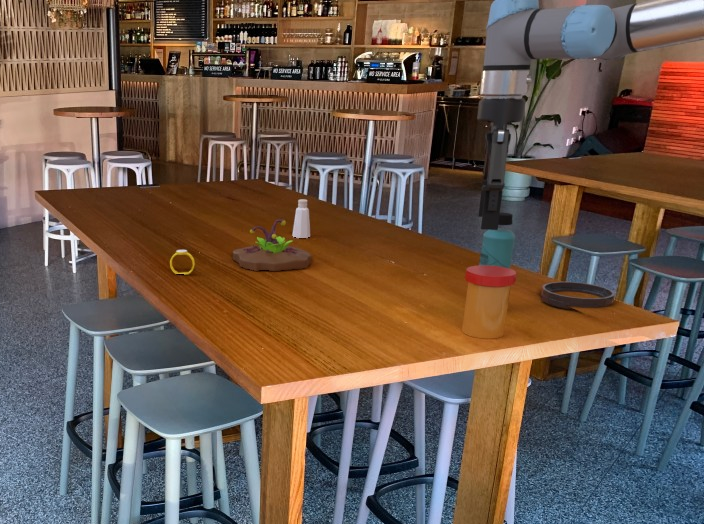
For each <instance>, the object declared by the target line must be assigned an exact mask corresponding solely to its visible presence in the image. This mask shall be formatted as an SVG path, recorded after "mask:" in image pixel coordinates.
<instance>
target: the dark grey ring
mask: <svg viewBox="0 0 704 524" xmlns="http://www.w3.org/2000/svg"><path fill="white" fill-rule="evenodd" d="M559 292H560V293H561V292H569V293H570V292H572V293H581V294H582V293H583V294H588V295H591V296H596V298H595V297H594V298H593V297H591V298H590V297H578V296H577V297H576V296H568V295H564V294H559ZM615 296H616V293H615V292H614V291H613V290H612V289H609V288H607V287H605V286H601V285H597V284H592V283H586V282H578V281H553V282H548V283H544V284H543V285H542V286H541V291H540V297H539V298H540V300H541V301H542V302H544V303H546V304H547V305H549V306H552V307H555V308H558V309H563V310H567V311H572V312H573V311H575V312H579V310H578V309H576V308H573V307H577V308H591V309H592V308H606V307H609V306H611V305H613V303H614V301H615Z"/></svg>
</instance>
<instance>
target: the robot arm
mask: <svg viewBox="0 0 704 524" xmlns="http://www.w3.org/2000/svg"><path fill="white" fill-rule="evenodd" d="M539 2H540V0H494V1H492V3H491V5H490V8H489V13H488V14H489V15H488V19H487V20H488V21H487V25H486V28H485V31H486V33H485V34H486V36H485V47H484V58H483V66H482V70H481V77H480V86H479V95H480V96H482V99H480V100H479V101H478V107H477V117H476V120H477V121H478V122H479V123H491V124H490V125H489V126H488V132H485V137H484V143H485V147H484V154H485V158H484V164H483V170H482V181H481V189H480V190H481V191H480V199H479V207H478V214H477V215H478V217H479V218H481V223H480V230H486V231H488V230H498V228H499V225H498V223H499V215H500V212H501V206H502V197H503V190H504V188H505V186H506V184H505V176H506V166H507V165H506V164H507V158H508V154H509V146H510V143H511V139H512V133H511V131H510V129H508V123H522V121H523V120H524V117H525V112H526V111H525V109H526V102H527V101H526V99H525V98H523V96H526V95H527V92H528V86H529V85H528V84H527V83H532V82H533V77H532V76H530V75H529V74H530V70H531V64H532V60H562V59H564V60H568V59H572V60H589V59H591V60H592V59H593V60H594V59H595V60H597V59H598V60H603V61H609V60H617V59H621V58H623V57H626V56H627V55H631V54H636V53H640V52H647V51H651V50H652V51H653V50H656V49H661V48H662V49H663V48H668V47H673V46H679V45H684V44H689V43H694V42H699V41H704V0H643V1H639V2H635V3H631V4H626V5H622V6H617V7H614V8H611V7H610V6H609V5H607V4H606V5H605V4H588V3H587V4H581V5H574V6H573V5H572V6H563V7H562V6H561V7H554V8H552V7H551V8H540V6H539V5H540V4H539Z"/></svg>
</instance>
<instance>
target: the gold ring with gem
mask: <svg viewBox="0 0 704 524" xmlns="http://www.w3.org/2000/svg"><path fill="white" fill-rule="evenodd" d="M177 255H178V256H183V255H185V256H187V257H189V259H190V260H191V264H192V266H191V269H190V270H189V271H184V272H178V270H175V268H174V266H173V260H174V258H175V257H176V256H177ZM195 266H196V261H195V257H194V256H193V255H192V254H191V253H190V252H188V250H187V249H177V250H176V251H175V253H174V254H172V256H171V258H170V260H169V267H170V270H171V272H173V273H174V274H175V275H176V274H184V275H183V276H187V275H190V274H191V273H192V272H193V271H194V268H195Z"/></svg>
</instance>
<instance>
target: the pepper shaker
mask: <svg viewBox="0 0 704 524" xmlns="http://www.w3.org/2000/svg"><path fill="white" fill-rule="evenodd" d="M297 203H298V204H297V207H296V209H295V215H294V220H293V221H294V222H293V227H292V235H291V236H293V237H292V238H294V237H296V238H295V239H299V238H306V239H309V238H308V237H310V238H311V225H310V209H309V208H308V200H307V199H305V198H303V199H302V198H301V199H298V200H297Z"/></svg>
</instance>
